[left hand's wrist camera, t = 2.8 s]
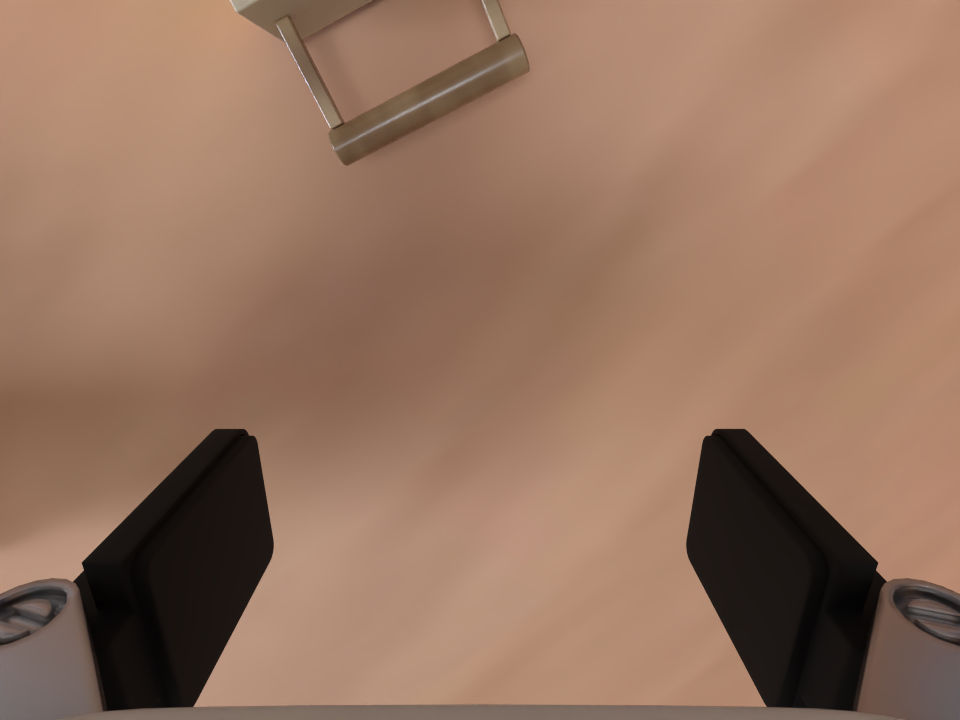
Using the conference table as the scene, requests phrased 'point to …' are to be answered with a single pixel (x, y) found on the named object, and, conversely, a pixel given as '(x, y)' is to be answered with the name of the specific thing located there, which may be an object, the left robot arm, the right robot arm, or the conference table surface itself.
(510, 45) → the drawer
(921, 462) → the conference table surface
